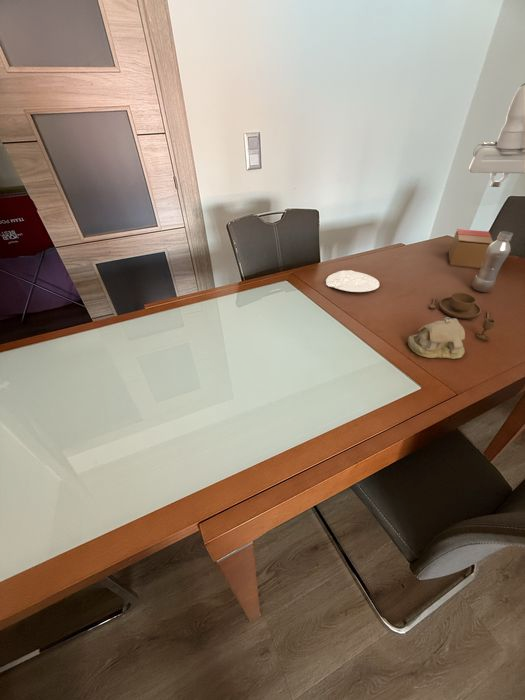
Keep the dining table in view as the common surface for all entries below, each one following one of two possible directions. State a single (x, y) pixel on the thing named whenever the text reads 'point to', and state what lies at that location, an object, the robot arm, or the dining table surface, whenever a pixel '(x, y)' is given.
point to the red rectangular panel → (473, 233)
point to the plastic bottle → (492, 262)
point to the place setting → (464, 310)
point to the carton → (469, 250)
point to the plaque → (352, 281)
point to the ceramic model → (439, 339)
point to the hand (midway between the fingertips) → (494, 186)
